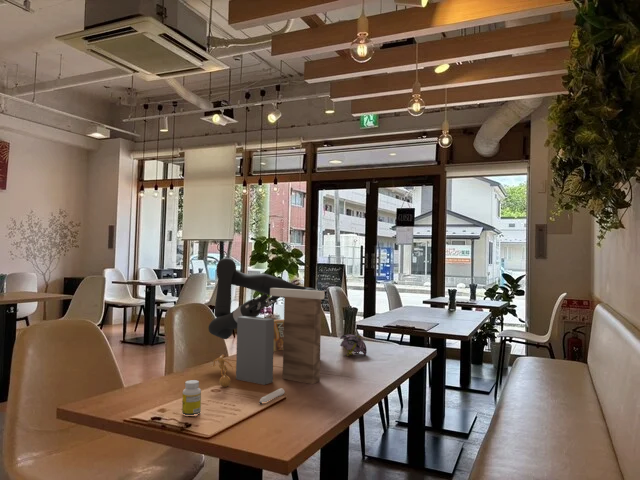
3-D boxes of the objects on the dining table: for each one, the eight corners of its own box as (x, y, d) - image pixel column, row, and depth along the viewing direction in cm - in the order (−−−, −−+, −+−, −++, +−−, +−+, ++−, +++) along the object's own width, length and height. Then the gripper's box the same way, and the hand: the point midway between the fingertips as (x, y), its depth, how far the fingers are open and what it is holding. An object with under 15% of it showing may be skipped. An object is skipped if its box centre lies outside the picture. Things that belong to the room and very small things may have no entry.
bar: (274, 295, 200) (274, 287, 200) (324, 298, 188) (324, 291, 188) (269, 295, 197) (270, 288, 198) (320, 299, 185) (320, 291, 185)
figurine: (237, 386, 178) (238, 353, 178) (228, 390, 172) (228, 356, 173) (218, 384, 181) (219, 351, 182) (208, 387, 176) (209, 354, 176)
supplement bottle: (183, 411, 149) (184, 379, 149) (201, 411, 149) (202, 379, 150) (180, 417, 143) (181, 384, 144) (199, 417, 144) (200, 384, 144)
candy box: (282, 348, 254) (283, 319, 254) (287, 349, 250) (288, 319, 251) (268, 350, 248) (269, 320, 249) (273, 351, 245) (273, 321, 245)
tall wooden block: (289, 376, 196) (291, 296, 197) (319, 381, 188) (321, 298, 189) (282, 378, 191) (284, 296, 192) (312, 384, 184) (314, 299, 185)
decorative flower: (375, 337, 236) (347, 328, 233) (371, 361, 231) (342, 352, 229) (364, 340, 249) (337, 332, 246) (360, 363, 245) (332, 355, 242)
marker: (257, 409, 156) (280, 395, 171) (262, 406, 155) (285, 393, 170) (254, 401, 156) (277, 388, 171) (259, 399, 156) (282, 386, 170)
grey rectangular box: (244, 376, 193) (245, 315, 194) (272, 382, 186) (274, 318, 187) (235, 379, 189) (237, 317, 190) (264, 384, 182) (266, 320, 182)
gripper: (231, 305, 200) (259, 287, 193) (253, 303, 213) (280, 286, 206) (238, 322, 198) (266, 304, 191) (260, 318, 210) (287, 302, 203)
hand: (273, 295), depth 198 cm, fingers open, 8 cm apart
